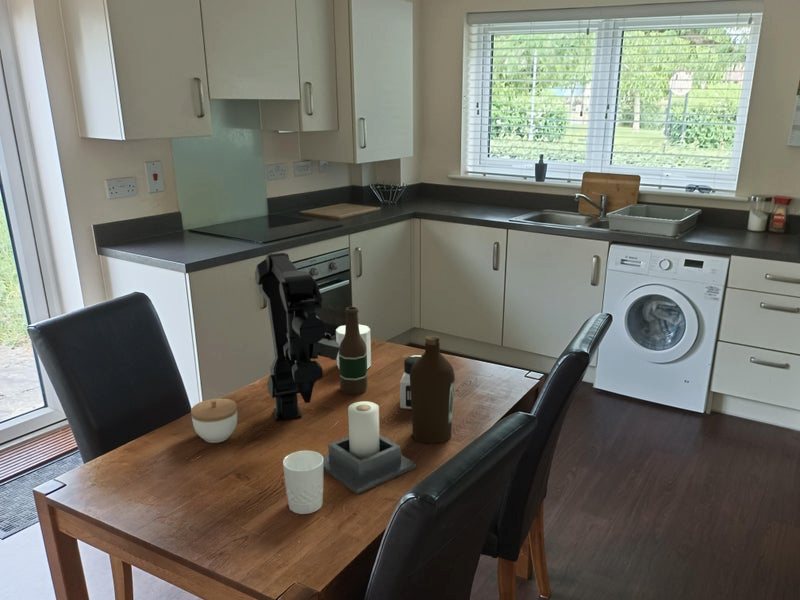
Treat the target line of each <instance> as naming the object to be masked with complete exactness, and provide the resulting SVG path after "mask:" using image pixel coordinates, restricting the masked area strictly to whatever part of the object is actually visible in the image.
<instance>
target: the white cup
mask: <svg viewBox="0 0 800 600" xmlns="http://www.w3.org/2000/svg"><path fill="white" fill-rule="evenodd" d="M323 456H324V455H322V454H321V453H320V452H317V451H314V450H300V451H299V450H298V451H294V452H292V453H289V454H288V455H286V456H285V457H284V458H283V461H282V466H283V467H282V468H283V474H284V483H285V485H284V486H285V493H286V497H287V505H288V508H289V510H290V511H291V512H293V513H294V514H300V515H308V514H312V513H315V512H317V511H318V510H319V509H321V508H322V506H323V503H324V500H323V498H324V497H323V496H324V494H323V493H324V470H323Z"/></svg>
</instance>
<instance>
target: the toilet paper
mask: <svg viewBox="0 0 800 600" xmlns="http://www.w3.org/2000/svg"><path fill="white" fill-rule="evenodd" d="M345 329H346V324H344V325H340V326H338V327H337V328H336V329H335V341H336V342H337V343H338V344H339V346H340V344H341V342H342V340H343V339H344V337H345ZM359 332H360V336H361V337H362V339H363V340H364V342H365V344H366V349H367V369H368V368H369V367H370V366H372V353H371V351H372V349H371V346H372V344H371V328H370V327H369V326H367V325H363V324H360V323H359ZM336 366H338V367H337V368H338V369H339V352H338V355H337V358H336ZM370 368H371V367H370ZM370 368H369V369H370ZM369 369H368V370H369Z"/></svg>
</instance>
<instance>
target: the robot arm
mask: <svg viewBox="0 0 800 600" xmlns="http://www.w3.org/2000/svg"><path fill="white" fill-rule="evenodd" d="M254 279H255V280H254V281H255V284H256V285H258V289H259V292H260V294H261V295H262V297H263V298H264V299H265V300H266V302H267V309H268V315H269V316H268V317H269V324H270V329H271V330H270V331H271V337H272V344H273V345H272V346H273V353H274V359H273V361H272V364H271V366H270V367H269V369H270V370H269V371H270V375H269V376H268V380H267V384H266V385H267V391H268V394H269V395H270V397H271V398H272V399H275V402H274V403H275V408H273V413H274V417H275V421H276V422H277V421H283V420H284V421H285V420H292V419H298V418H299V419H300V418H302V412H301V409H300V407H299V399H298V398H299V397H298V394H300V395H301V397H302V400H303V402H304V403H305V404H308V403H311V399H312V395H313V391H314V386H315V383H316V382H317V381H320V380H321V379H322V378H324V371H323V367H322V365H321V363H319V362H318V361H317V360H316V359H319V357H323V358H327V359H330V360H334V361H337V355H338V352H339V349H340V346H339V344H338V343H337V342H336V339H332V335H331V334H330V332H329V333H327V332H326V331H327V327H326V324H325V322H324V321H323V320H322V319H321V318H320V317H319V316H318V315H317V312H316V309H322V307H323V305H322V302H323V298H322V297H323V296H322V294H321V291H320V288H319V284H318V282H317V280H316V279H315V278H313V276H312V275H311V274H310V273H309V272H307V271H301V270H298V268H297V267H296V266H295V265H294V264H293V262H292V261H291V260H290V257H289V254H288V253H287V252H276V253H269V254H267V255H266V257H265V259H264V260H262V261H261V262H259V263H258V264H257V265H256V268H255V271H254Z"/></svg>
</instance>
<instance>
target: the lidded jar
mask: <svg viewBox="0 0 800 600" xmlns="http://www.w3.org/2000/svg"><path fill="white" fill-rule="evenodd" d="M190 415H191V420H192V425H193V429H194V431H195V433H196V435H198V436H199V438H201V439H202V440H204V441H205V443H209V444H212V443H213V444H217V443H221V442H224V441H226V440H228V439H229V438H230V436H231V435H233V433H234V431H235V430H236V428H237V423H238V404H237V403H236V402H235V401H234V400H232V399H229V398H212V399H206V400H203V401H200V402H198V403H196V404H194V405H193V406H192V407H191V410H190Z"/></svg>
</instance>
